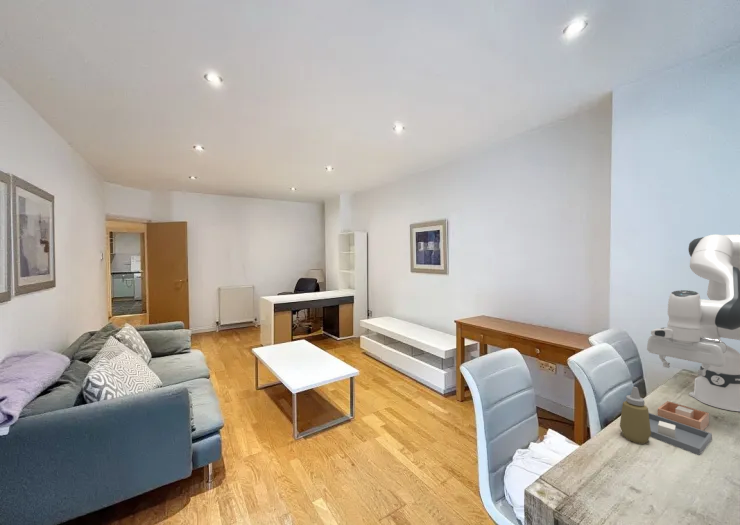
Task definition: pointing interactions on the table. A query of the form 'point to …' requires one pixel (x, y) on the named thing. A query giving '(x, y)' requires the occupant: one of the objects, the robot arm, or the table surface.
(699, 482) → the table surface
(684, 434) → the tray
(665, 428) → the block
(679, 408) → the white cube
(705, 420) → the bin
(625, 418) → the squeeze bottle
